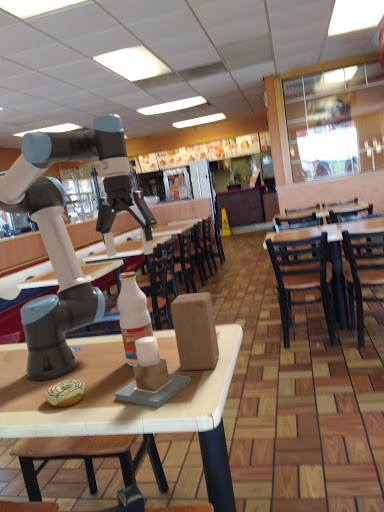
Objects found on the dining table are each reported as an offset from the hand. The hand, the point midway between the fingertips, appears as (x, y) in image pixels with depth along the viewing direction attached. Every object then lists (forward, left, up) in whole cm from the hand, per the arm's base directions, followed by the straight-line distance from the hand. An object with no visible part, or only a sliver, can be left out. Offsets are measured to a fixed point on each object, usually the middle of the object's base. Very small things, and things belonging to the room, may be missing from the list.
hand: (129, 255), depth 114 cm
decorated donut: (-14, -18, -35) cm, 42 cm away
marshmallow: (+7, -7, -27) cm, 29 cm away
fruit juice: (-10, +8, -35) cm, 37 cm away
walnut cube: (+7, -7, -33) cm, 35 cm away
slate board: (+7, -7, -35) cm, 36 cm away
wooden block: (+10, +11, -35) cm, 38 cm away
